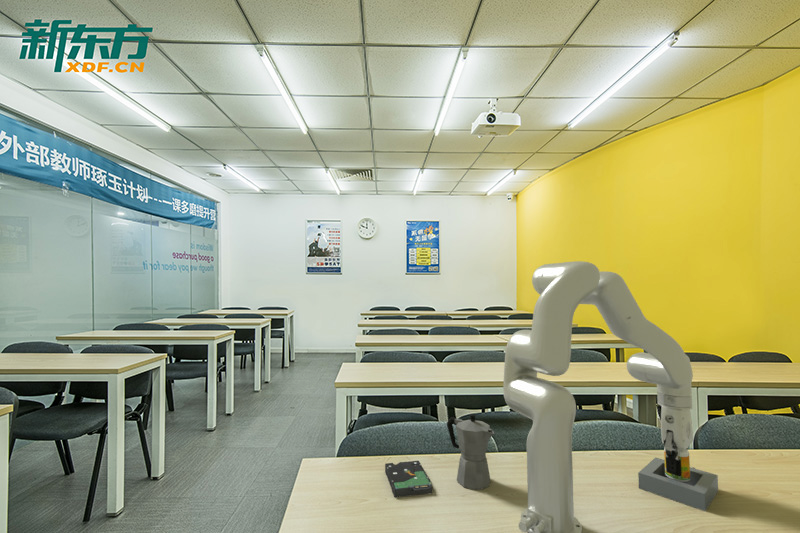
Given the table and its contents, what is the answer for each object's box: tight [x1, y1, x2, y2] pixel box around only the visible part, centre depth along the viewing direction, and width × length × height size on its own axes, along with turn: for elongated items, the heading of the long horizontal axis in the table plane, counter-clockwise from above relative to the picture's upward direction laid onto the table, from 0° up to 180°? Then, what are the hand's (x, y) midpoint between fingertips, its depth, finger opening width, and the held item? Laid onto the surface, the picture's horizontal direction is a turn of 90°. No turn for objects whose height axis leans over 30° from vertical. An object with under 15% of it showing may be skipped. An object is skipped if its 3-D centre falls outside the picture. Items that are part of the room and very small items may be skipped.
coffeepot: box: [446, 413, 496, 491], centre depth 107 cm, size 15×9×18 cm, turn 45°
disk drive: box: [384, 460, 434, 499], centre depth 106 cm, size 10×3×15 cm
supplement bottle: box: [663, 444, 691, 482], centre depth 101 cm, size 5×5×10 cm
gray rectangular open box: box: [637, 456, 719, 512], centre depth 104 cm, size 23×14×4 cm, turn 131°
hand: (677, 469), depth 101 cm, fingers closed on supplement bottle, 5 cm apart
